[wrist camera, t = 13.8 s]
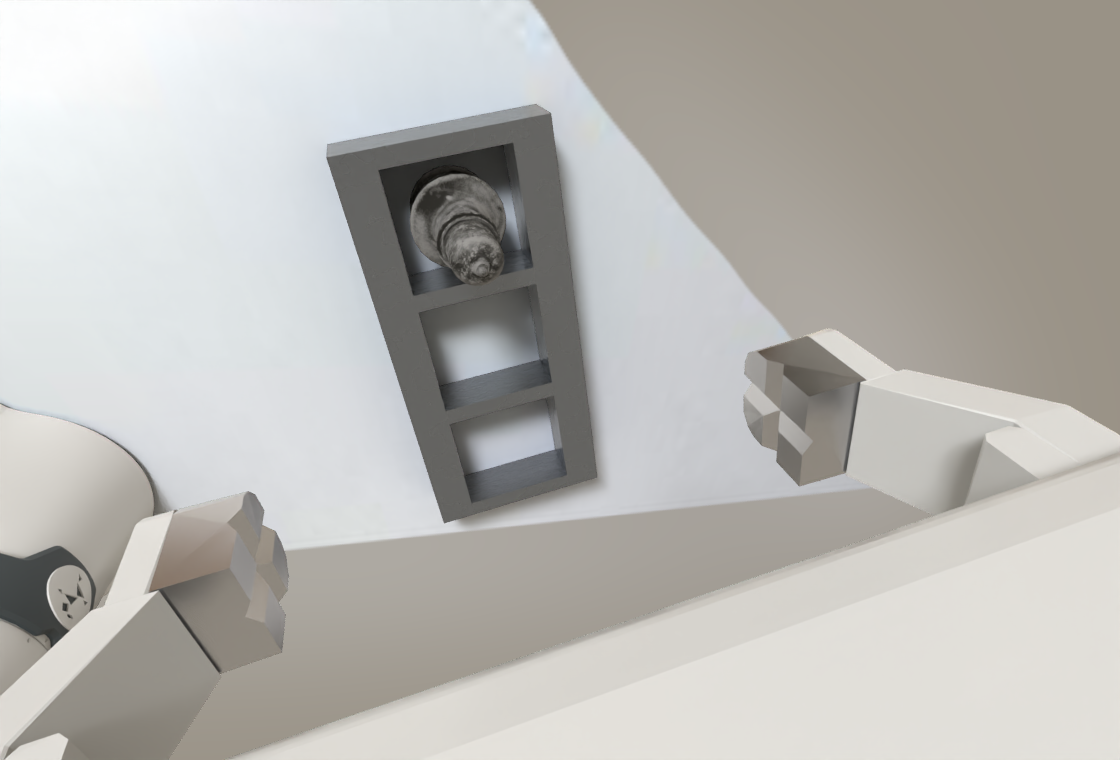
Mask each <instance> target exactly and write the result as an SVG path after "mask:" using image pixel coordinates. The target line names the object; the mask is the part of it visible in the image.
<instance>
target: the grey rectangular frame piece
mask: <svg viewBox="0 0 1120 760" xmlns="http://www.w3.org/2000/svg"><path fill="white" fill-rule="evenodd" d="M499 145H504V151H505V157H506V163H507V169H508V175H509V181H510V187H511V192H512V198H513V204H514V210H515V216H516V222H517V228H518V234H519V239H520V245H521V250H517V251H513V252H509V253H504V266H503V269H502V271H501V273H500V275H499V276H498V277H497V278H496V279H495V280H494V281H492V282H491V283H489V284H486V285H483V286H473V285H468V284H466V283H464V282H462V281H461V280H460V279H459V278H458V277H456V275H455V274H454V272H453V270H452V269H451V268H450V267H444V268H440V269H435V270H431V271H427V272H423V273H418V274H414V275H410V276H408V272H407V269H406V265H405V262H404V258H403V254H402V251H401V247H400V244H399V240H398V237H397V233H396V230H395V226H394V222H393V219H392V215H391V212H390V208H389V205H388V201H387V197H386V194H385V190H384V187H383V183H382V180H381V176H380V172H379V170H381V169H386V168H390V167H395V166H400V165H405V164H410V163H415V162H420V161H425V160H430V159H435V158H440V157H445V156H450V155H455V154H459V153H464V152H469V151H474V150H479V149H484V148H489V147H494V146H499ZM326 158H327V161H328V164H329V167H330V170H331V173H332V176H333V179H334V182H335V186H336V189H337V192H338V195H339V198H340V201H341V204H342V207H343V210H344V214H345V217H346V220H347V223H348V226H349V229H350V232H351V235H352V238H353V241H354V245H355V248H356V251H357V254H358V257H359V260H360V263H361V266H362V269H363V273H364V276H365V279H366V282H367V285H368V288H369V291H370V294H371V297H372V301H373V304H374V307H375V310H376V313H377V316H378V319H379V322H380V325H381V329H382V332H383V335H384V338H385V341H386V344H387V347H388V350H389V353H390V357H391V360H392V363H393V366H394V369H395V372H396V375H397V378H398V381H399V385H400V388H401V391H402V394H403V397H404V400H405V403H406V406H407V409H408V413H409V416H410V419H411V422H412V425H413V428H414V431H415V434H416V437H417V441H418V444H419V447H420V450H421V453H422V456H423V459H424V462H425V465H426V469H427V472H428V475H429V478H430V481H431V484H432V487H433V490H434V493H435V497H436V500H437V503H438V506H439V509H440V512H441V515H442V518H443V521H444V523H447V522H450V521H453V520H457V519H460V518H463V517H467V516H470V515H473V514H477V513H480V512H483V511H487V510H490V509H493V508H497V507H500V506H503V505H507V504H510V503H513V502H517V501H520V500H523V499H527V498H530V497H533V496H537V495H540V494H543V493H547V492H550V491H553V490H557V489H560V488H563V487H567V486H570V485H573V484H577V483H580V482H583V481H587V480H590V479H593V478H597V472H596V464H595V456H594V448H593V440H592V432H591V424H590V416H589V408H588V401H587V393H586V385H585V377H584V369H583V361H582V353H581V345H580V338H579V330H578V322H577V314H576V306H575V298H574V290H573V282H572V275H571V267H570V259H569V251H568V243H567V235H566V227H565V219H564V211H563V204H562V196H561V188H560V180H559V172H558V164H557V156H556V148H555V141H554V133H553V125H552V117H551V113H550V112H548V111H547V110H545V109H543V108H542V107H540V106H538V105H537V104H534V105H529V106H524V107H518V108H513V109H508V110H503V111H498V112H493V113H487V114H482V115H477V116H472V117H467V118H462V119H457V120H451V121H446V122H441V123H436V124H431V125H426V126H420V127H415V128H410V129H405V130H400V131H395V132H389V133H384V134H379V135H374V136H369V137H364V138H358V139H353V140H348V141H343V142H338V143H333V144H327V157H326ZM526 286H528V292H529V298H530V304H531V310H532V316H533V322H534V328H535V334H536V339H537V345H538V351H539V357H540V360H537V361H533V362H529V363H526V364H522V365H518V366H514V367H510V368H507V369H503V370H499V371H495V372H492V373H488V374H484V375H480V376H476V377H473V378H469V379H465V380H461V381H457V382H454V383H450V384H446V385H442V386H439V383H438V379H437V376H436V372H435V369H434V365H433V362H432V358H431V354H430V351H429V347H428V344H427V340H426V337H425V333H424V329H423V326H422V322H421V319H420V315H419V312H423V311H427V310H431V309H435V308H439V307H444V306H448V305H452V304H456V303H460V302H464V301H468V300H472V299H477V298H481V297H485V296H489V295H493V294H497V293H501V292H505V291H510V290H514V289H518V288H522V287H526ZM544 398H547V404H548V410H549V416H550V422H551V428H552V433H553V439H554V445H555V450H552V451H549V452H546V453H542V454H539V455H535V456H532V457H528V458H525V459H521V460H518V461H514V462H511V463H508V464H504V465H501V466H497V467H494V468H490V469H487V470H483V471H480V472H476V473H473V474H470V475H466V476H464V472H463V469H462V465H461V461H460V458H459V454H458V451H457V447H456V444H455V440H454V436H453V433H452V429H451V426H450V424H453V423H456V422H460V421H463V420H467V419H471V418H474V417H478V416H482V415H485V414H489V413H493V412H496V411H500V410H504V409H507V408H511V407H514V406H518V405H522V404H525V403H529V402H533V401H536V400H540V399H544Z"/></svg>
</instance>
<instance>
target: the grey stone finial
mask: <svg viewBox="0 0 1120 760" xmlns="http://www.w3.org/2000/svg"><path fill="white" fill-rule="evenodd" d="M410 212H411V214H410V228H411V233H412V236H413V238H414V241H415V243H416V245H417V246H418V248H419V249H420V251H421V252H422V253H423V254H424V255H425V256H426V257H428V258H429V259H430V260H431V261H433V262H435V263H437V264H439V265H441V266H445V267H450V268H451V269H452V270H453V272H454V274H455V275H456V277H458V278H459V279H460V280H461V281H462V282H464V283H466V284H468V285H473V286H483V285H486V284H489V283H491V282H492V281H494V280H495V279H496V278H497V277H498V276H499V275H500V273H501V271H502V269H503V266H504V254H503V251H502V249H501V247H500V246H501V240H502V238H503V235H504V231H505V228H506V215H505V211H504V207H503V203H502V202H501V200H500V198H499V196H498V194H497V193H496V192H495V191H494V190H493V189H492V188H491V187H490V186H489V185H488V184H487V183H486V182H484V181H482V180H481V179H479V178H478V177H477V176H476V175H475V174H474V173H472V172H471V171H469V170H467V169H466V168H462V167H458V166H441V167H438V168H434V169H432V170H431V171H429V172H427V173H426V174H424V175H423V176H422V177H421V179H420V180H419V181H418V182H417V183H416V185H415V187H414V189H413V191H412V195H411V199H410Z"/></svg>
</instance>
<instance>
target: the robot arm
mask: <svg viewBox="0 0 1120 760" xmlns="http://www.w3.org/2000/svg"><path fill="white" fill-rule="evenodd" d="M744 374H745V375H746V376H747V377H748V378H749V379H750V381H751V382H752V383H751V385H750V386H749V388H748V389H747V391H746V392H745V394H744V414H745V418H746V421H747V425H748V427H749V429H750V431H751V433H752V434H753V436H754V437H755V439H756V440H757V441H758V442H759V443H760V444H761V445H762V446H764V447H767V448H770V449H773V450H776V451H777V460H776V462H777V463H778V464H779V465H780V466H781V467H782V468H783V469H784V470H785V472H786V473H787V474H788V475H789V476H790V477H791V478H792V479H793V480H794V481H795V482H796V483H797V484H798V486H802V485H806V484H809V483H813V482H816V481H820V480H823V479H827V478H830V477H833V476H837V475H840V474H844V473H846V476H848V477H851V478H853V479H855V480H857V481H859V482H861V483H864V484H866V485H868V486H870V487H872V488H875V489H877V490H879V491H881V492H883V493H886V494H888V495H890V496H892V497H894V498H896V499H899V500H901V501H903V502H905V503H907V504H910V505H912V506H914V507H916V508H918V509H921V510H923V511H925V512H927V513H929V514H932V515H934V516H932V517H929V518H926V519H923V520H921V521H917V522H915V523H912V524H909V525H906V526H903V527H900V528H898V529H894V530H892V531H889V532H886V533H883V534H880V535H877V536H874V537H871V538H868V539H865V540H862V541H859V542H857V543H854V544H851V545H848V546H845V547H842V548H839V549H836V550H833V551H830V552H827V553H824V554H821V555H818V556H816V557H813V558H810V559H807V560H804V561H801V562H798V563H795V564H792V565H789V566H786V567H783V568H780V569H778V570H775V571H772V572H769V573H766V574H763V575H760V576H757V577H754V578H751V579H748V580H745V581H742V582H739V583H737V584H733V585H731V586H728V587H725V588H722V589H719V590H716V591H713V592H710V593H708V594H704V595H701V596H699V597H695V598H693V599H690V600H687V601H684V602H681V603H678V604H675V605H672V606H669V607H666V608H663V609H660V610H658V611H655V612H652V613H649V614H646V615H643V616H640V617H637V618H634V619H631V620H629V621H626V622H623V623H620V624H617V625H614V626H611V627H608V628H605V629H603V630H599V631H596V632H594V633H591V634H588V635H585V636H582V637H579V638H576V639H573V640H570V641H568V642H564V643H562V644H559V645H556V646H553V647H550V648H547V649H544V650H541V651H538V652H536V653H532V654H530V655H527V656H524V657H521V658H518V659H515V660H512V661H509V662H506V663H503V664H501V665H498V666H495V667H492V668H489V669H486V670H483V671H480V672H477V673H474V674H472V675H469V676H465V677H463V678H460V679H457V680H454V681H451V682H448V683H445V684H442V685H439V686H436V687H433V688H431V689H428V690H425V691H422V692H419V693H416V694H413V695H410V696H407V697H405V698H401V699H398V700H396V701H393V702H390V703H387V704H384V705H381V706H378V707H375V708H372V709H369V710H367V711H364V712H361V713H358V714H355V715H352V716H349V717H346V718H343V719H340V720H338V721H334V722H331V723H329V724H326V725H323V726H320V727H317V728H314V729H311V730H308V731H305V732H302V733H300V734H296V735H294V736H291V737H288V738H285V739H282V740H279V741H276V742H273V743H270V744H267V745H264V746H262V747H259V748H256V749H253V750H250V751H247V752H244V753H241V754H238V755H235V756H232V757H229V758H227V759H224V760H1120V435H1118V434H1116V433H1115V432H1113V431H1111V430H1110V429H1108V428H1106V427H1105V426H1103V425H1101V424H1099V423H1098V422H1096V421H1094V420H1093V419H1091V418H1089V417H1087V416H1086V415H1084V414H1082V413H1080V412H1079V411H1077V410H1075V409H1073V408H1072V407H1070V406H1068V405H1064V404H1060V403H1055V402H1050V401H1046V400H1042V399H1037V398H1032V397H1028V396H1023V395H1019V394H1014V393H1010V392H1005V391H1000V390H996V389H991V388H987V387H982V386H978V385H973V384H969V383H964V382H960V381H955V380H950V379H946V378H942V377H937V376H933V375H928V374H924V373H919V372H914V371H910V370H901V371H898V372H897V371H895V370H894V369H892V368H891V367H889V366H888V365H886V364H885V363H883V362H882V361H880V360H879V359H878V358H876V357H875V356H873V355H872V354H870V353H869V352H867V351H866V350H865V349H863V348H862V347H860V346H859V345H857V344H856V343H854V342H853V341H851V340H850V339H848V338H847V337H846V336H844V335H843V334H841V333H840V332H838V331H837V330H833V329H825V330H821V331H818V332H815V333H812V334H808V335H805V336H802V337H801V338H798V339H795V340H791V341H788V342H784V343H781V344H777V345H774V346H770V347H767V348H763V349H760V350H756V351H753V352H749V353H748V355H747V358H746V360H745V371H744ZM153 512H154V497H153V492H152V488H151V486H150V483H149V481H148V479H147V477H146V475H145V473H144V472H143V470H142V469H141V467H140V466H139V465H138V464H137V462H136V461H135V460H134V459H133V458H132V457H131V456H130V455H129V454H128V453H127V452H126V451H124V450H123V449H122V448H121V447H119V446H118V445H117V444H115V443H114V442H112V441H111V440H109V439H107V438H106V437H104V436H102V435H100V434H98V433H96V432H94V431H92V430H90V429H88V428H85V427H83V426H80V425H78V424H75V423H72V422H69V421H65V420H62V419H58V418H54V417H49V416H44V415H38V414H33V413H27V412H22V411H18V410H14V409H11V408H7V407H5V406H3V405H1V404H0V760H169V758H170V756H171V755H172V753H173V752H174V750H175V749H176V747H177V745H178V744H179V742H180V741H181V739H182V738H183V736H184V735H185V733H186V731H187V730H188V728H189V727H190V725H191V724H192V722H193V720H194V719H195V717H196V716H197V714H198V713H199V711H200V710H201V708H202V707H203V705H204V703H205V702H206V700H207V699H208V697H209V696H210V694H211V692H212V691H213V689H214V688H215V686H216V685H217V683H218V682H219V680H220V679H221V675H220V674H222V673H224V672H227V671H230V670H233V669H236V668H239V667H241V666H244V665H247V664H250V663H253V662H256V661H259V660H262V659H265V658H267V657H270V656H273V655H276V654H279V653H282V647H283V636H284V626H285V616H286V615H285V613H284V611H283V609H282V607H281V606H280V604H279V601H280V600H281V599H282V597H283V596H284V595H285V593H286V592H287V591H288V578H289V574H288V567H287V559H286V555H285V552H284V549H283V546H282V543H281V541H280V539H279V537H278V535H277V533H276V531H274V530H272V529H270V528H267V527H265V526H263V525H262V523H263V515H264V509H263V507H262V506H261V504H260V502H259V501H258V499H257V497H256V495H255V494H253V493H251V492H249V491H247V492H243V493H239V494H235V495H231V496H227V497H224V498H220V499H216V500H212V501H208V502H204V503H200V504H196V505H192V506H188V507H185V508H181V509H179V510H173V511H170V512H166V513H162V514H159V515H155V516H153ZM107 593H109V594H108V597H107V599H106V602H105V605H104V607H100V608H97V609H96V607H97V606H98V604H99V602H100V600H101V598H102V597H103V596H104V595H106V594H107Z"/></svg>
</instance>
